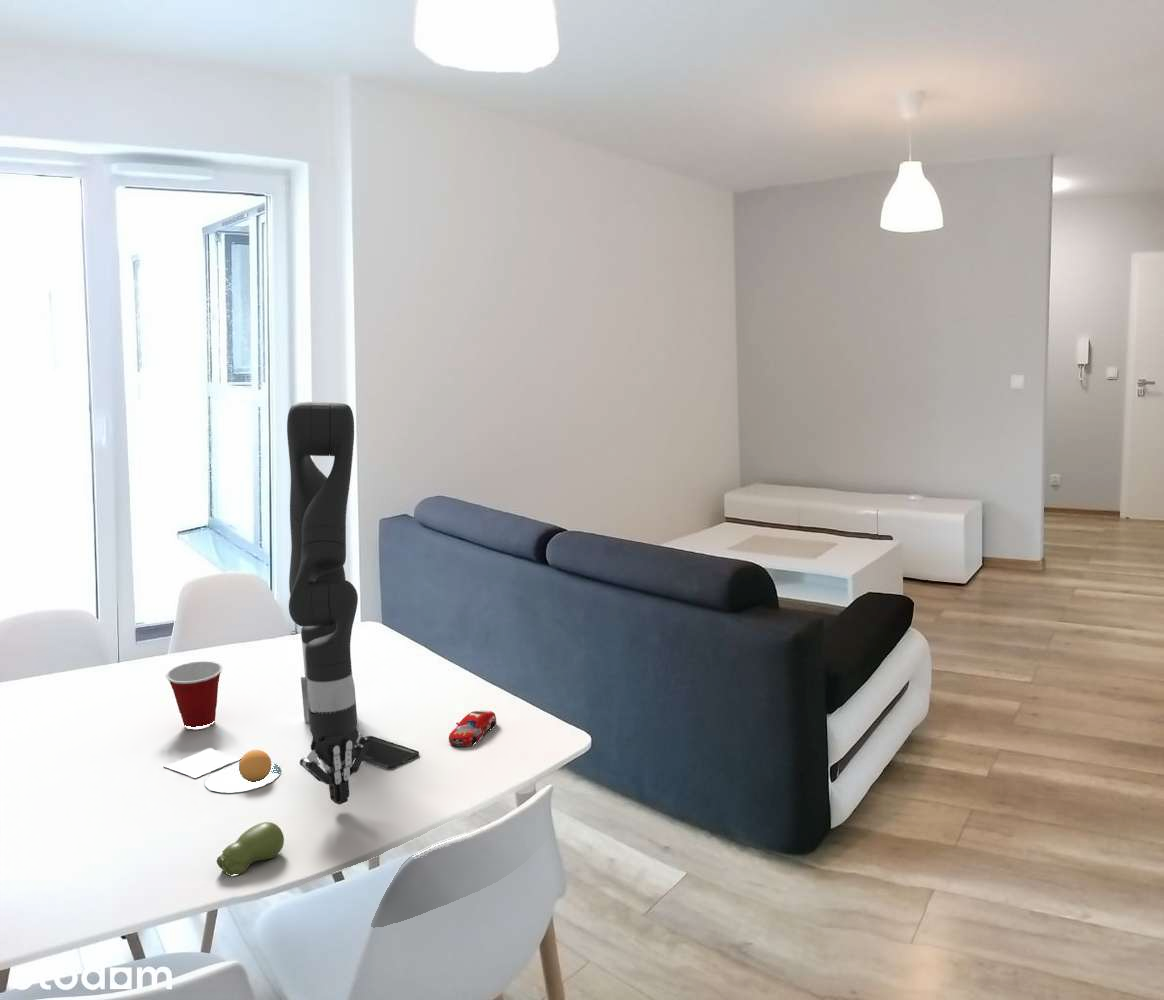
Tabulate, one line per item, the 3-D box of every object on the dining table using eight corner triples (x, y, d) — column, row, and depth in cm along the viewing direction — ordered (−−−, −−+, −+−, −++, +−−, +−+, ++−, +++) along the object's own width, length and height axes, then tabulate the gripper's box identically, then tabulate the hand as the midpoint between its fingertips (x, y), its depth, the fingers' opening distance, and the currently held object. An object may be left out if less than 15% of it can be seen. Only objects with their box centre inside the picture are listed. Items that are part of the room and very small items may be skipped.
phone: (368, 735, 194) (421, 752, 185) (369, 740, 194) (422, 757, 185) (336, 748, 188) (389, 767, 179) (336, 754, 188) (389, 773, 179)
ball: (247, 769, 172) (241, 791, 174) (278, 763, 175) (272, 784, 178) (238, 746, 175) (232, 768, 178) (268, 740, 179) (262, 762, 181)
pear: (286, 822, 149) (224, 859, 142) (294, 852, 150) (233, 890, 144) (267, 811, 153) (206, 846, 146) (275, 840, 154) (215, 876, 147)
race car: (469, 751, 187) (468, 731, 186) (444, 748, 189) (442, 728, 188) (501, 725, 199) (500, 706, 198) (477, 722, 201) (476, 703, 200)
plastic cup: (172, 739, 197) (165, 681, 195) (170, 721, 207) (164, 666, 205) (230, 729, 202) (224, 672, 200) (225, 712, 211) (220, 657, 209)
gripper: (350, 685, 168) (358, 781, 171) (283, 709, 158) (292, 811, 161) (379, 694, 164) (386, 793, 166) (311, 719, 154) (320, 824, 156)
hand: (340, 802), depth 164 cm, fingers closed
